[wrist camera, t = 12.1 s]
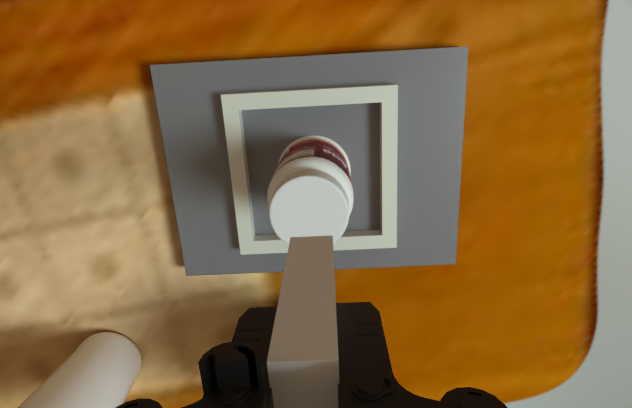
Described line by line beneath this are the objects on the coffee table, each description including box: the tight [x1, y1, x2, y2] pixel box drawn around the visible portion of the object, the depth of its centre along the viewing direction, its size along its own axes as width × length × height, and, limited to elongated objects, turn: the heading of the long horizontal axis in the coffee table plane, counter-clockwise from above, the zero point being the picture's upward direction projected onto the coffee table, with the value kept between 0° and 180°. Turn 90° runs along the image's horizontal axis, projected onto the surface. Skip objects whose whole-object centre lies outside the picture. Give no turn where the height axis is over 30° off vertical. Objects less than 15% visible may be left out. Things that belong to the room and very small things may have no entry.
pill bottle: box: [267, 138, 354, 245], centre depth 25 cm, size 5×5×8 cm
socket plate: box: [150, 46, 468, 276], centre depth 29 cm, size 20×15×2 cm
